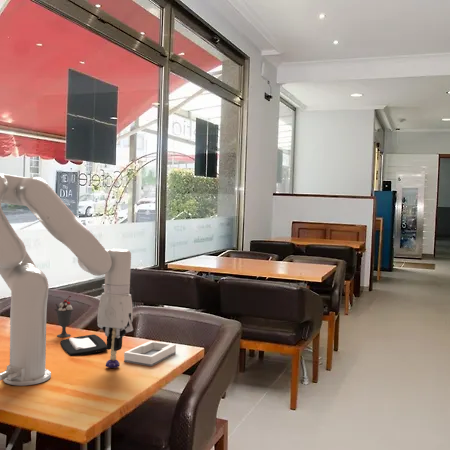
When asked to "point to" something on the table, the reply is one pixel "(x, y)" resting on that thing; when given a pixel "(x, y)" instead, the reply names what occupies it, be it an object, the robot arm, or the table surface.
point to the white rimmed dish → (149, 353)
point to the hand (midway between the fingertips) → (114, 348)
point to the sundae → (64, 316)
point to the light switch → (83, 345)
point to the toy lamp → (113, 353)
